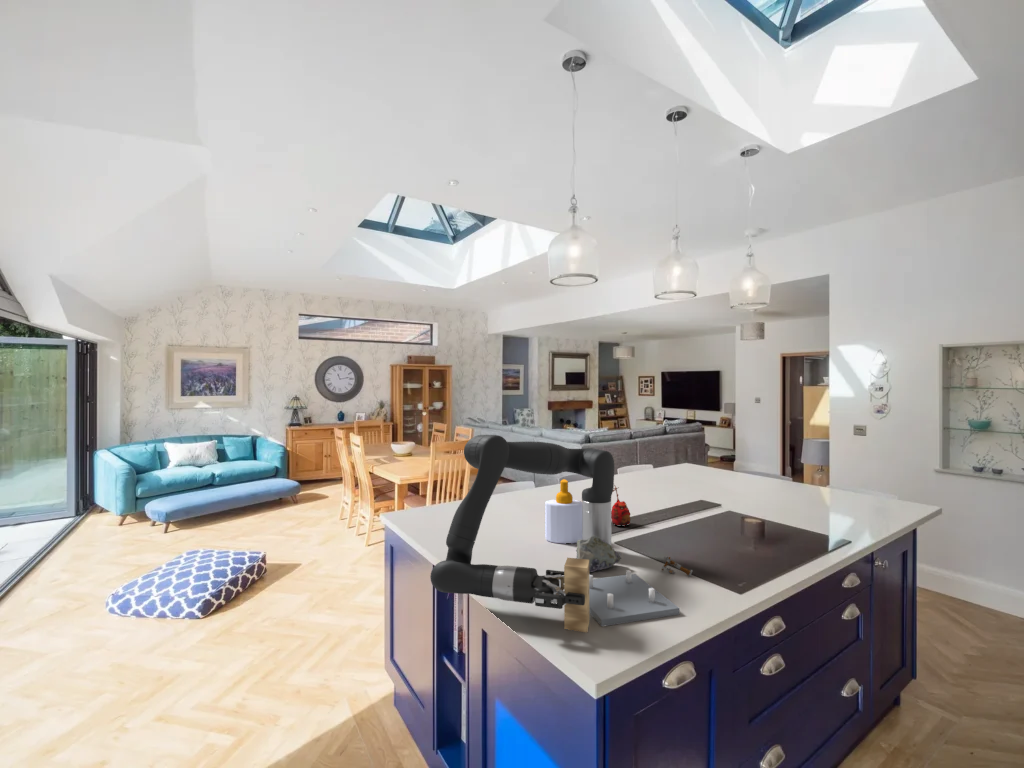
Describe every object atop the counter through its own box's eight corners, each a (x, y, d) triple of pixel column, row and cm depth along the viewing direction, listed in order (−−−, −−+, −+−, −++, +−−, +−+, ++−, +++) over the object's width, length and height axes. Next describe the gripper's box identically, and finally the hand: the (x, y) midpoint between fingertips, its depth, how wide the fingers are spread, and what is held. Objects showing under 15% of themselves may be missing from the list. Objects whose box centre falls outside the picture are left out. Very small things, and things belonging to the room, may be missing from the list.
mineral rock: (621, 565, 136) (621, 531, 136) (619, 580, 126) (619, 544, 126) (578, 560, 140) (578, 528, 140) (572, 574, 129) (572, 539, 129)
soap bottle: (582, 536, 162) (582, 479, 162) (584, 544, 153) (584, 484, 153) (545, 535, 163) (545, 478, 163) (544, 543, 155) (544, 483, 155)
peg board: (567, 587, 121) (567, 570, 121) (635, 579, 126) (634, 562, 126) (601, 626, 102) (601, 606, 102) (679, 614, 107) (679, 595, 107)
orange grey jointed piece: (659, 566, 133) (665, 553, 132) (685, 582, 130) (692, 569, 129) (658, 569, 131) (664, 555, 130) (685, 585, 128) (692, 571, 127)
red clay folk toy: (621, 529, 170) (620, 489, 170) (606, 524, 175) (606, 485, 175) (634, 525, 174) (634, 486, 174) (620, 521, 180) (619, 483, 180)
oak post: (564, 629, 100) (564, 565, 100) (567, 618, 105) (567, 557, 105) (587, 632, 99) (587, 568, 99) (589, 620, 104) (589, 559, 104)
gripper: (507, 580, 99) (583, 588, 95) (522, 556, 113) (589, 562, 109) (507, 614, 99) (583, 625, 95) (522, 586, 113) (589, 594, 109)
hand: (586, 591), depth 102 cm, fingers open, 7 cm apart
